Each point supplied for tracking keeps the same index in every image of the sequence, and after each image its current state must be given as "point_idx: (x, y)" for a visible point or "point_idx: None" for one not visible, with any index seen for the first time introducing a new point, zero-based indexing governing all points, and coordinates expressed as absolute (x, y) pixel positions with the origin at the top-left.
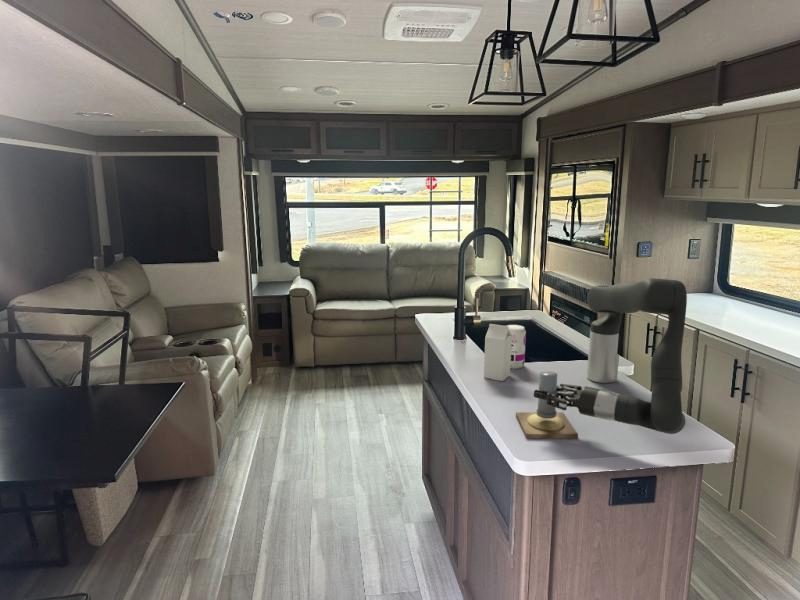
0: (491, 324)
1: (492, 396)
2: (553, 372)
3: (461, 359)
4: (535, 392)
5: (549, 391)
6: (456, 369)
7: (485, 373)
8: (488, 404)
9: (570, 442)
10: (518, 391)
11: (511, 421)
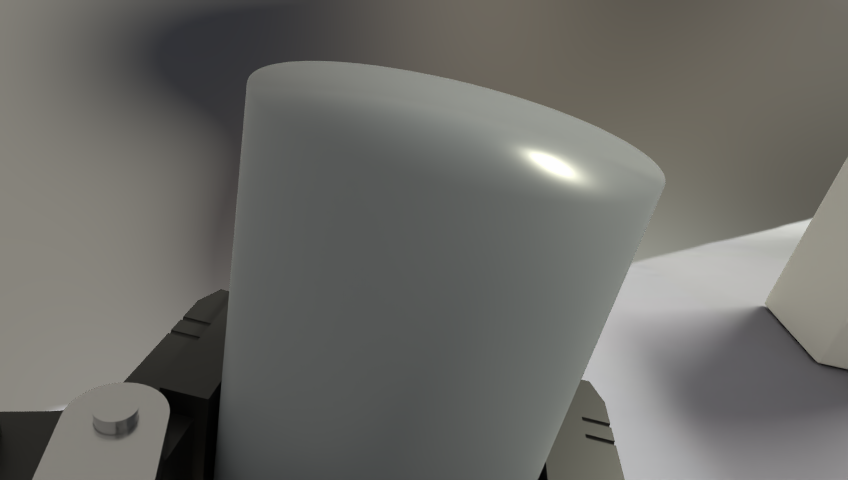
0: None
1: (608, 339)
2: (631, 175)
3: None
4: (221, 294)
5: (219, 416)
6: (730, 241)
7: (778, 288)
8: None
9: None
10: (797, 440)
11: None
